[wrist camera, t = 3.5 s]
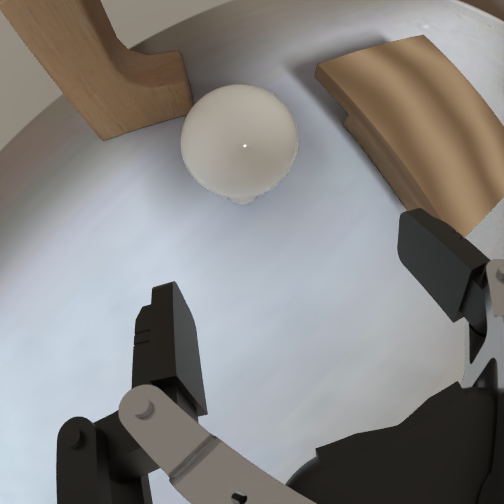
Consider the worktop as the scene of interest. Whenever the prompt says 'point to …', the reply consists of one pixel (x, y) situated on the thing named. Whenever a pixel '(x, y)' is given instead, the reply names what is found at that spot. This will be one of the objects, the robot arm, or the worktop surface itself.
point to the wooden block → (100, 66)
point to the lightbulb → (239, 142)
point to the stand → (422, 128)
